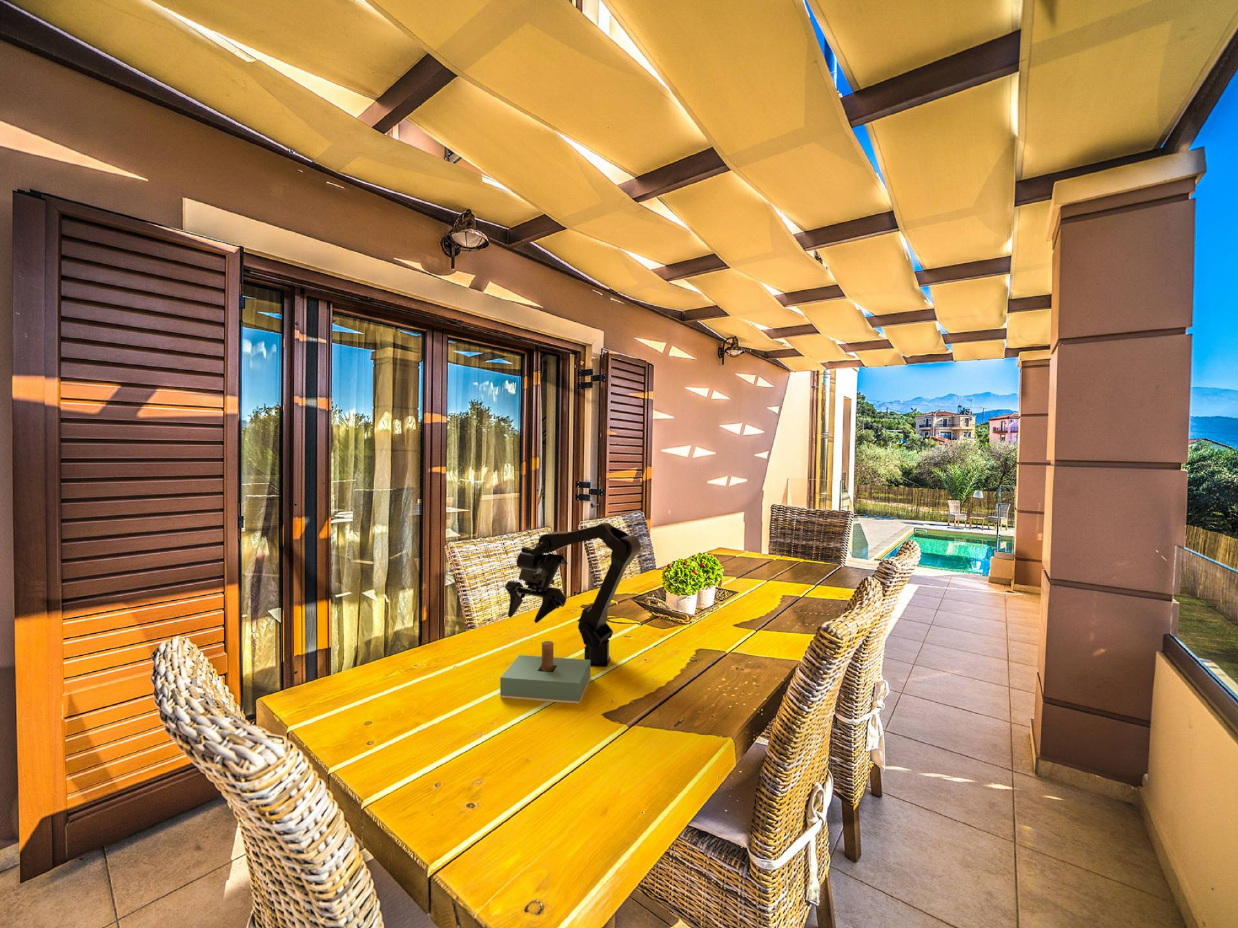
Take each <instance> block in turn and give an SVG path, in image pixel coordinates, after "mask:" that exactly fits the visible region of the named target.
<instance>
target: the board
mask: <svg viewBox="0 0 1238 928" xmlns="http://www.w3.org/2000/svg"><path fill="white" fill-rule="evenodd" d="M591 667H592V666H591V660H585V659H582V658H570V657H568V658H567V657H555V656H553V672H542V656H541V655H539V656H537V655H526V654H525V655H522V654H519V655H518V656H517V657H516V658H515V659H514V661H513V662H512V663H511V664H510V665H509V667H507V669H506V670H505V672H504V673H502V674H501V676H500V677H499V678H500V685H499V687H500V688H499V689H500V692H499V693H500V694H499V695H500V696H499V697H500V698H503V699H516V700H528V701H540V702H554V703H555V702H556V703H566V704H576V705H577V704H580V703H581V702H582V698H583V697H584V694H585V692H586V689H587V687H588V685H589V682H590V680H591V670H592V669H591Z"/></svg>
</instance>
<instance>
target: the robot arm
mask: <svg viewBox="0 0 1238 928" xmlns="http://www.w3.org/2000/svg"><path fill="white" fill-rule="evenodd" d="M596 539H600V540H601V541H602V542H603V543H604V545H605V546H606V547H607V548H609V549H610V550H611V554H610V565H609V568H608V570H607V571H606V574H605V576H604V579H603V581H602V583H601V586H600V588H599V589H598V592H597V594H596V597H595V598H594V601H593V602H592V603H591V604H590V605H589V606H587V607H584V609H582V612H581V615H580V617H579V619H578V620H577V622H578V625H577V629H578V631H579V633H580V635H581V638H582V641H583V644H584V654H583V655H584V659H585V660H591V667H600V668H601V667H602V668H607V667H608V666H609V664H610V663H609V662H610V660H611V656H610V639H611V638H612V636H613V634H614V631H613V630H612V628H611V627H610V626H609V625H608V623H607V621H608V609H609V607H610V605H611V602H612V600H613V598H614V596H615V593H616V592H617V588H618V586H619V584H620V582H621V580H622V578H623V575H624V573H625V571H626V568H627V567H628V566H629V565H630V564H631V563H632V561H634V559H635V557H636V556H637V555H638V553H639V552H640V551H641V542H640V540H639V539H638V537H637V536H635V535H630V534H629V533H627V532H625V531H624V530H621V529H619V528H617V527H615V526H614V525H612V524H611V523H609V522H602V523H599V524H597V525H594V526H593V525H592V526H589V527H585V528H580V529H577V530H573V531H552V532H548V533H544V534H541V535H540V536H539V538H538V542H537V544H536V545H535V547H534V548H533V547H532V548H531V547H529V546H524V547H521V551H520V552H519V554H518V556H517V558H516V566H517V568H518V569H520V573H519V575H518V580H520V581H524V585H525V586H527V587H525V586H523V584H522V583H521V582H520V581H517V580H508V581H507V583H506V584H505V586H504V589H505V590H506V592H507V593H508V594H509V606H508V614H507V616H508V618H512V617H513V616H514V614H515V613H516V611H517V610H518V609H519V607H520V606H521V605H522V603H523V602H524V600H523V599H524V598H525V597H526V595H527V596H533V597H539V598H542V602H541V605H540V607H539V609H538V611H537V613H536V614H535V615H536V616H535V618H534V620H533V621H534V624H538V623H539V622H540V621H542V619H544V618H545V617H546V616H547V615H548V614H550V613H551V612H553V611H555V610H556V609H559V608H560V607H562V608H564V606H565V605H566V602H567V598H566V595H565V594H564V593H563V591H562V590H561V588H557V587H552V586H551V585H554V584H555V582H556V581H555V580H554V578H555V576H556V574H557V573H558V570H559V568H560V566H561V565H563V566H564V565H565V566H567V565H568V561H567V559H566V556H565V555H564V554H565V553H560V554H559V553H558V554H557V553H554V552H557V551H560V550H561V549H563V548H564V549H565V548H566V547H568V546H570V545H574V544H578V543H581V542H587V541H590V540H596Z"/></svg>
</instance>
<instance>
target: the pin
mask: <svg viewBox="0 0 1238 928" xmlns="http://www.w3.org/2000/svg"><path fill="white" fill-rule="evenodd" d="M541 657H542V672H553V657H554V642H553V641H551V640H550V641H549V640H546V641H542V642H541Z"/></svg>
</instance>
